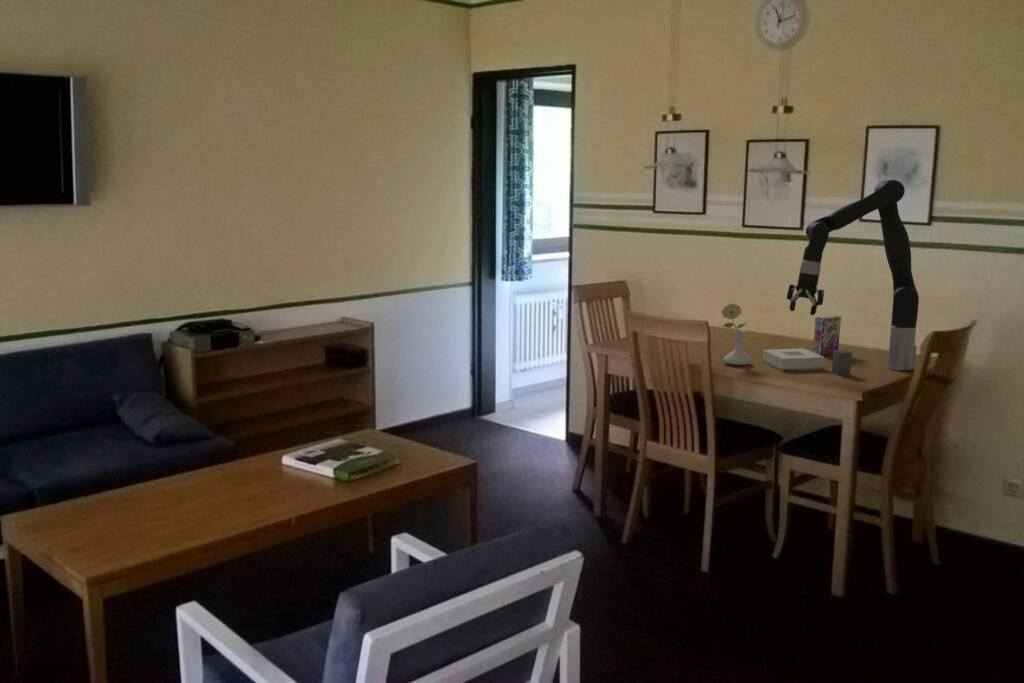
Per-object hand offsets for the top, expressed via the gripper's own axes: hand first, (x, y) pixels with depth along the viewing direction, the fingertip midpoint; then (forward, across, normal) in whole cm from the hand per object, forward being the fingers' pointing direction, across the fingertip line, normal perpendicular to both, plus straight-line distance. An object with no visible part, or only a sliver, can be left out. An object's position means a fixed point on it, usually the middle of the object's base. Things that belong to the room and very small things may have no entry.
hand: (802, 312), depth 372 cm
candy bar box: (+19, +3, -36) cm, 41 cm away
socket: (+22, +2, -5) cm, 23 cm away
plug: (+21, -18, -5) cm, 28 cm away
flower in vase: (+25, +20, +8) cm, 34 cm away
